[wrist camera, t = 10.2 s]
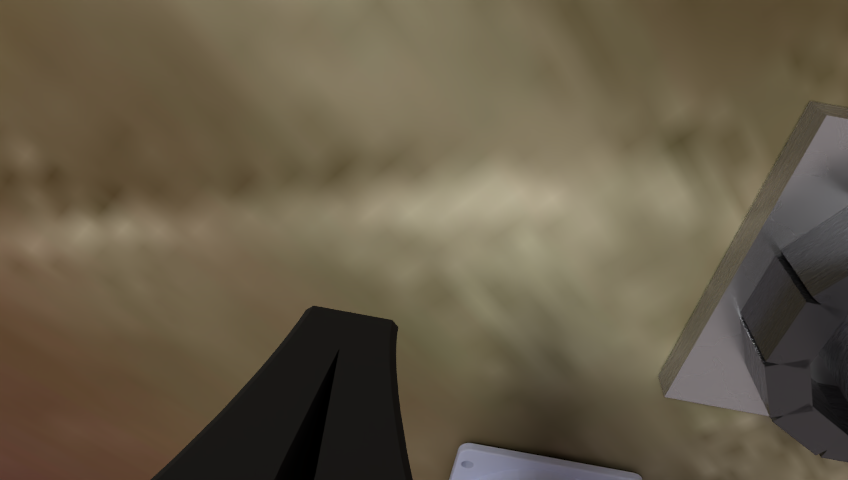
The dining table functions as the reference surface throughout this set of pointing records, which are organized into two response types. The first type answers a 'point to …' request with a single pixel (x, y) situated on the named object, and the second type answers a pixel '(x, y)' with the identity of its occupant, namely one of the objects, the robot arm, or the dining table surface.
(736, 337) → the barrel stand
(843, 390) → the dark grey round knob
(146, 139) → the dining table surface
